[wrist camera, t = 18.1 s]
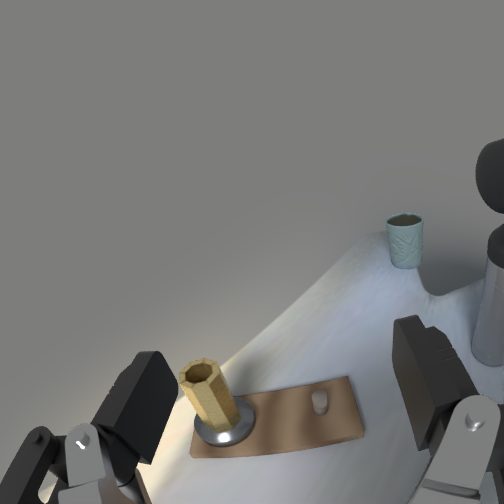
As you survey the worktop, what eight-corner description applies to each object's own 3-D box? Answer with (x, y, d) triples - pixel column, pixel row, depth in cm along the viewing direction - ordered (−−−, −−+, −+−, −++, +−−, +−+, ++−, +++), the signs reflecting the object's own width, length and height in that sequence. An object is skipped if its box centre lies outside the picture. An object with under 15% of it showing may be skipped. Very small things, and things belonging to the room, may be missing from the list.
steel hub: (248, 394, 42) (238, 369, 40) (262, 437, 34) (252, 413, 32) (195, 410, 41) (180, 386, 39) (201, 453, 33) (184, 432, 31)
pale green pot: (423, 253, 70) (422, 212, 66) (424, 271, 63) (424, 225, 59) (390, 254, 76) (387, 213, 72) (386, 271, 68) (383, 226, 64)
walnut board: (348, 382, 41) (346, 360, 39) (363, 436, 31) (364, 418, 29) (203, 404, 44) (192, 386, 42) (193, 458, 33) (179, 441, 32)
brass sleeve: (236, 401, 40) (215, 354, 36) (243, 426, 35) (221, 381, 31) (204, 410, 39) (178, 365, 35) (208, 436, 34) (179, 392, 31)
